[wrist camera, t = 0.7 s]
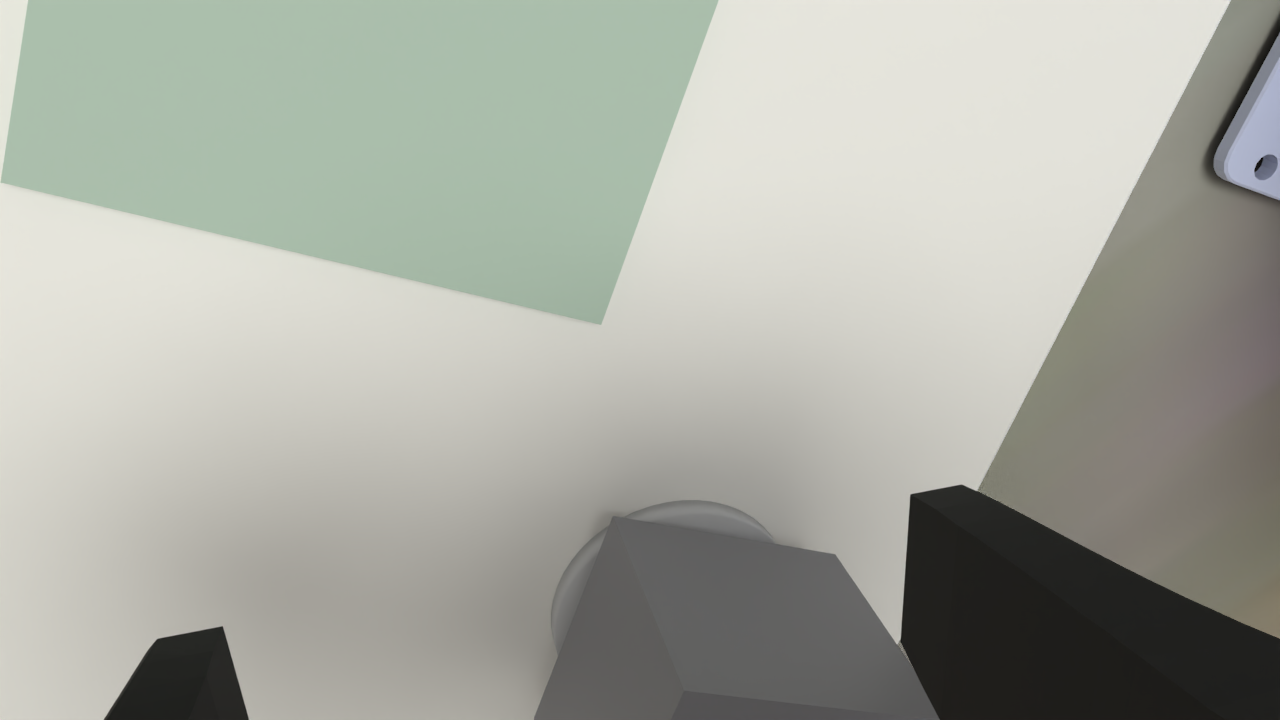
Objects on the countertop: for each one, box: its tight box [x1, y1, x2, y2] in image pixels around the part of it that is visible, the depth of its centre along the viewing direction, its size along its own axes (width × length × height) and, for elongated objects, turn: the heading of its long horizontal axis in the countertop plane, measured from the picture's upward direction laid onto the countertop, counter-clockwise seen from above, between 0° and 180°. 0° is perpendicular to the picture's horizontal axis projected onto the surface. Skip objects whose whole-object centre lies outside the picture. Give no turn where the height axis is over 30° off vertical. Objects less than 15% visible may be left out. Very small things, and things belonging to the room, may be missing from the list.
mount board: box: [0, 0, 1231, 720], centre depth 18 cm, size 19×20×6 cm
